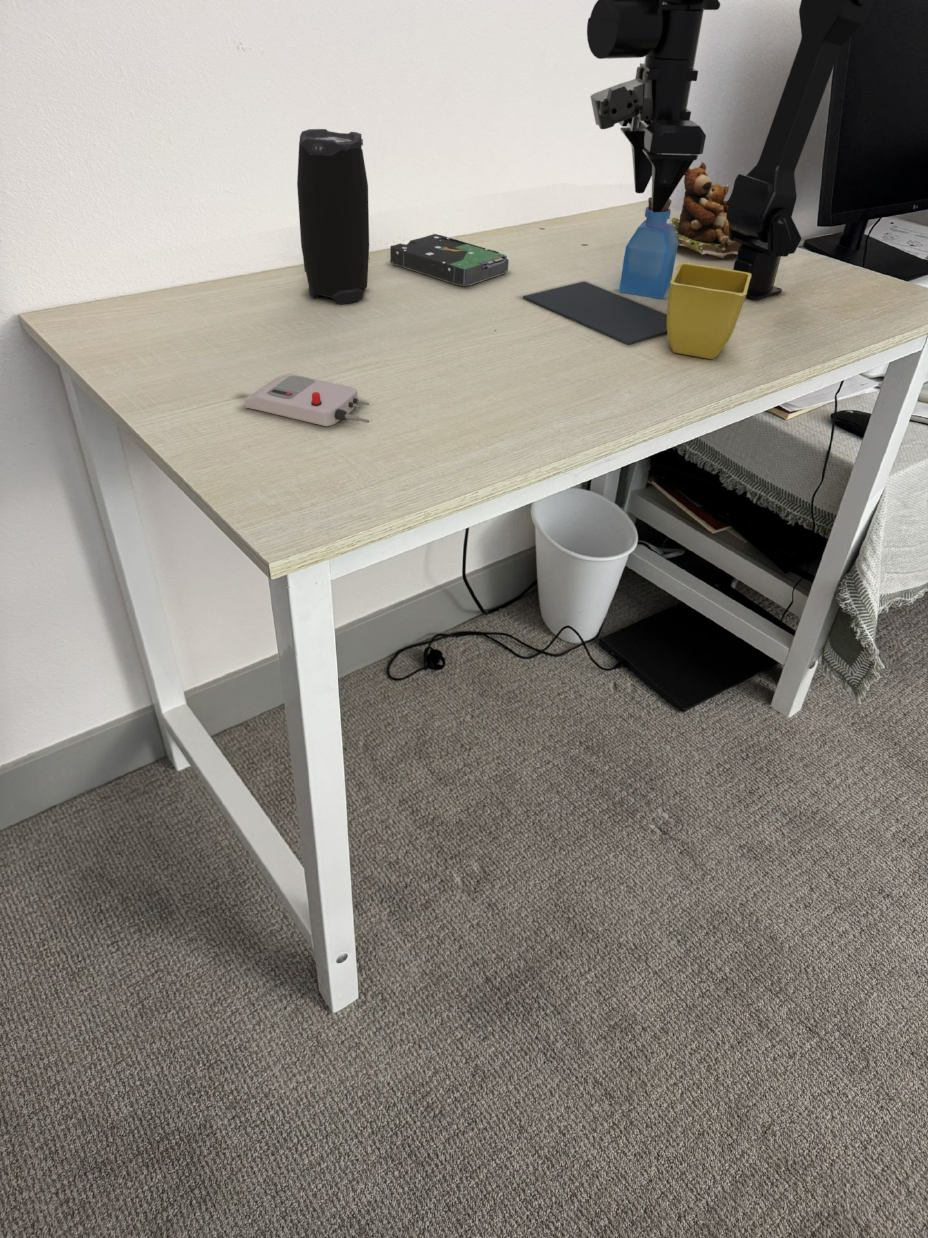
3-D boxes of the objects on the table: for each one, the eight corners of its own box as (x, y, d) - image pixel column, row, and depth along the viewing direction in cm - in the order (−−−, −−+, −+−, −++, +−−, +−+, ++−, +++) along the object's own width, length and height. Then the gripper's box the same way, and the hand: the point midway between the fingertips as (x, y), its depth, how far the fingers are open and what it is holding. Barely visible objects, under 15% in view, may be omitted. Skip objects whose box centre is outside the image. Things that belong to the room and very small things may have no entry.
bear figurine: (692, 264, 137) (709, 179, 130) (643, 237, 148) (656, 157, 140) (764, 258, 141) (784, 175, 134) (711, 232, 152) (727, 154, 144)
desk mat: (584, 283, 128) (584, 281, 128) (690, 325, 116) (690, 323, 116) (522, 298, 122) (522, 295, 122) (628, 344, 110) (628, 342, 110)
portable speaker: (379, 288, 123) (376, 130, 110) (353, 310, 116) (348, 144, 103) (322, 279, 124) (313, 123, 112) (294, 300, 117) (281, 136, 105)
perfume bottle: (618, 291, 126) (632, 201, 118) (629, 279, 130) (642, 191, 123) (661, 298, 124) (677, 207, 117) (670, 285, 129) (686, 197, 121)
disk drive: (388, 265, 131) (465, 288, 124) (388, 246, 129) (465, 268, 122) (434, 251, 137) (509, 272, 130) (434, 232, 136) (510, 252, 128)
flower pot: (735, 343, 112) (752, 271, 106) (728, 369, 105) (746, 293, 100) (666, 332, 114) (680, 261, 108) (655, 357, 107) (669, 282, 102)
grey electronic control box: (264, 381, 97) (261, 355, 95) (391, 410, 93) (391, 383, 91) (230, 404, 92) (226, 377, 91) (362, 436, 88) (361, 408, 86)
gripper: (587, 44, 108) (572, 182, 118) (618, 65, 93) (598, 221, 103) (675, 47, 109) (653, 184, 118) (720, 69, 94) (691, 223, 104)
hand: (647, 201), depth 111 cm, fingers open, 9 cm apart
